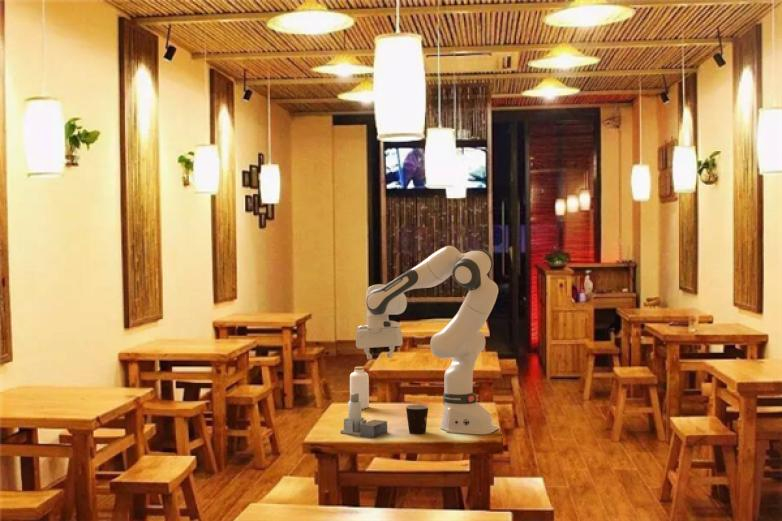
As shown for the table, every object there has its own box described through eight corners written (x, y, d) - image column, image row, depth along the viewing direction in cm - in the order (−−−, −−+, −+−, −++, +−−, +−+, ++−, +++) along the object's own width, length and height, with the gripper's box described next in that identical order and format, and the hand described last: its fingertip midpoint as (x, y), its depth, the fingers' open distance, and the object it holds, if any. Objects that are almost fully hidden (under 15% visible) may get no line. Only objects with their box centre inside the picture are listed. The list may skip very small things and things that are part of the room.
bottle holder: (387, 432, 340) (387, 419, 339) (374, 438, 331) (373, 424, 331) (352, 428, 347) (352, 415, 347) (339, 433, 339) (338, 420, 339)
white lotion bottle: (364, 429, 342) (363, 393, 341) (357, 431, 338) (356, 395, 337) (353, 427, 344) (352, 392, 344) (346, 430, 340) (345, 394, 340)
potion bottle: (360, 410, 382) (360, 369, 382) (346, 408, 387) (345, 367, 387) (372, 407, 389) (372, 366, 388) (358, 405, 394) (357, 365, 393)
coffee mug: (415, 429, 345) (415, 403, 345) (433, 432, 340) (432, 406, 340) (396, 434, 336) (396, 408, 336) (414, 437, 331) (414, 411, 331)
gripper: (352, 326, 360) (353, 359, 358) (396, 322, 351) (397, 357, 349) (359, 326, 366) (361, 359, 364) (403, 322, 356) (405, 357, 355)
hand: (379, 358), depth 356 cm, fingers open, 8 cm apart
